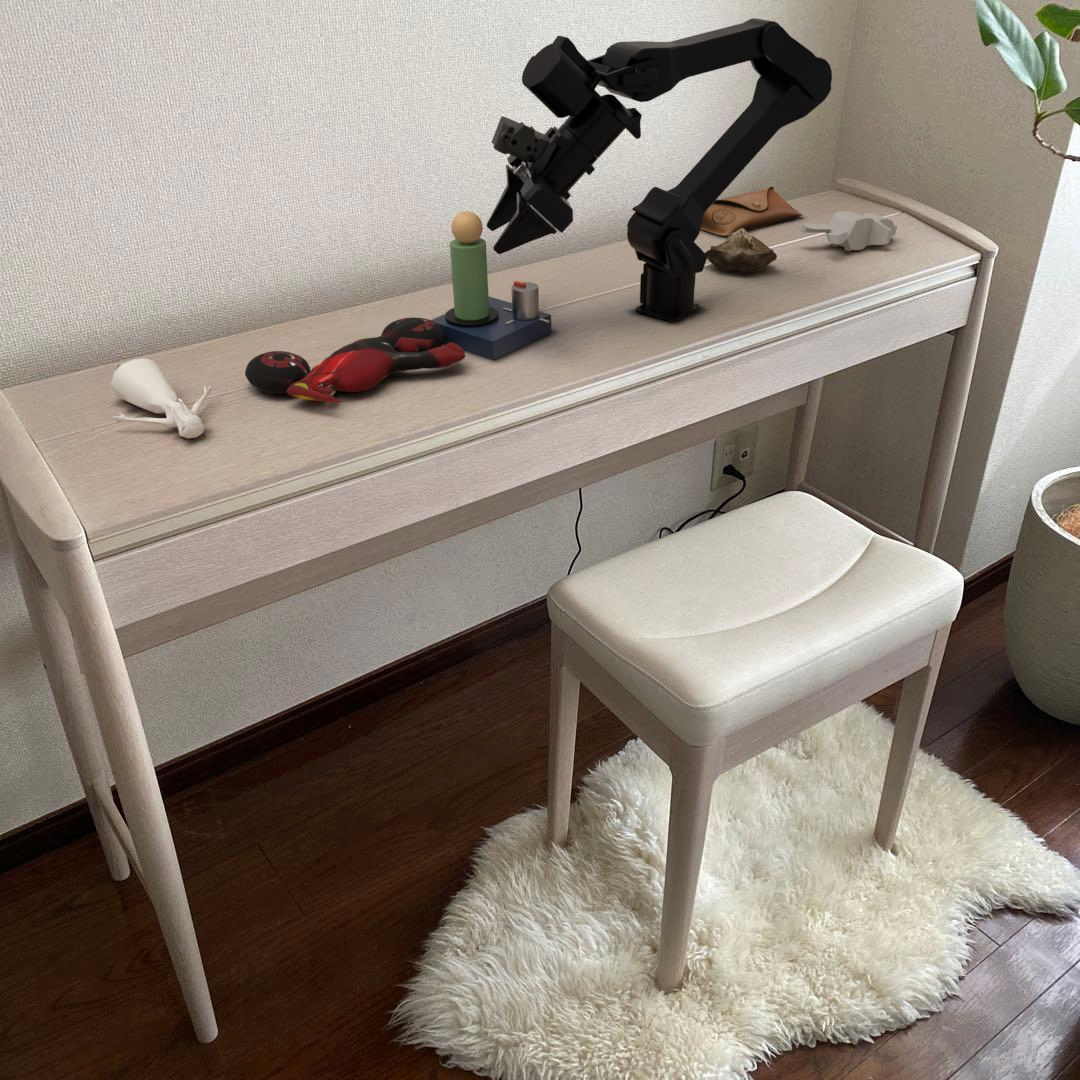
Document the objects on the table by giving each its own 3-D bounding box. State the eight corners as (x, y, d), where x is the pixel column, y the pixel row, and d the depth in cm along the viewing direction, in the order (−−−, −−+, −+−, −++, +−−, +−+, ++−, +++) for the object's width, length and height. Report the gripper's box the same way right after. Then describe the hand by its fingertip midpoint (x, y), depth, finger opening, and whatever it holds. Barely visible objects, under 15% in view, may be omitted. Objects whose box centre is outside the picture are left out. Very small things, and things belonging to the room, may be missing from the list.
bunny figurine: (914, 219, 160) (842, 224, 153) (905, 253, 163) (835, 260, 156) (868, 205, 167) (797, 209, 160) (860, 237, 170) (791, 243, 163)
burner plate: (509, 315, 135) (509, 312, 135) (473, 332, 131) (472, 328, 131) (471, 304, 139) (470, 300, 139) (434, 319, 135) (433, 315, 134)
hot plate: (567, 332, 137) (567, 312, 135) (503, 363, 129) (502, 342, 127) (496, 310, 144) (495, 291, 142) (430, 338, 136) (429, 319, 134)
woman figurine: (171, 338, 125) (243, 396, 115) (177, 372, 128) (249, 432, 117) (73, 366, 119) (140, 430, 108) (82, 401, 122) (149, 467, 111)
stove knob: (544, 314, 135) (543, 283, 133) (527, 322, 133) (526, 290, 131) (524, 308, 137) (523, 277, 135) (507, 316, 135) (505, 285, 133)
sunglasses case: (727, 235, 167) (715, 194, 166) (699, 248, 173) (687, 208, 172) (806, 214, 176) (795, 175, 175) (777, 227, 182) (766, 189, 181)
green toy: (496, 312, 135) (491, 210, 128) (472, 323, 132) (466, 219, 125) (471, 305, 137) (465, 204, 130) (447, 315, 134) (440, 213, 127)
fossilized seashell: (696, 258, 152) (763, 278, 150) (713, 213, 151) (780, 233, 149) (704, 270, 159) (768, 289, 157) (720, 227, 159) (784, 246, 156)
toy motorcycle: (241, 391, 126) (285, 422, 114) (232, 349, 124) (276, 375, 112) (429, 349, 138) (488, 373, 125) (424, 310, 135) (483, 330, 123)
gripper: (522, 77, 129) (438, 175, 134) (542, 108, 113) (446, 218, 118) (586, 140, 134) (503, 233, 139) (613, 179, 119) (519, 281, 124)
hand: (492, 239), depth 130 cm, fingers open, 9 cm apart
